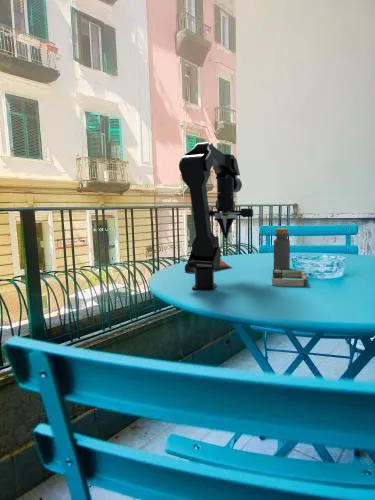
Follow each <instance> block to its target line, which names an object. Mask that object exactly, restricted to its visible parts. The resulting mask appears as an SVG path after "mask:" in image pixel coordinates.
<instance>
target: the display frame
mask: <svg viewBox="0 0 375 500" xmlns="http://www.w3.org/2000/svg"><path fill="white" fill-rule="evenodd" d="M274 273H281V270H274ZM307 282H308V281H307V277H306V274H305V271H304V270H282V279H273V278H272V277H271V285H272V286H276V287H281V286H282V287H307V286H308V285H307Z"/></svg>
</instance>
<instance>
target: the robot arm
mask: <svg viewBox="0 0 375 500" xmlns="http://www.w3.org/2000/svg"><path fill="white" fill-rule="evenodd" d="M178 168H179V170H178V171H180V175H181V179H182V181H183V182H184V183H185V184H186V186H187V187H188V189H189V195H190V203H191V204H190V205H191V209H192V216H193V217H192V218H193V223H194V225H193V226H194V231H195V237H194V240H193V241H192V244H191V250H190V254H189V256H188V259H187V263H188V268H195V274H194V285H193V286H192V287H191V289H192V290H199V291H200V290H204V291H205V290H206V291H208V290H209V291H212V290H214V289H215V288H216V287H217V283H215V282H214V281H215V280H214V279H215V274H214V273H215V271H214V269H216V268H218V267H220V259H221V256H222V255H221V254H222V249H221V246H220V240H219V236H218V235H216V234H214V233H213V231H212V223H211V217H214V219H213V220H214V221H217V223H218V225H219V227H220V229H221V232H222V235H223V237H224V239H227V238H229V237H228V236H229V234H230V231H231V227H232V224H233V222H234V221H237V219H238V216H241V217H242V218H253V217H254V209H253V208H251V207H250V208H248V207H247V208H246V207H245V208H244V207H243V208H241V209H239V210H236V203H235V200H234V199H235V194H236V193H238V192H240V191H241V189H242V188H243V183H242V180H241V178H239V177H238V176H240V175H241V174H240V169H239V163H238V160H237V158H236V157H235V155H234V154H230V153H223V151H221V150H220V149H218V148H216V147H215V146H214V144H213V143H212V142H208V141H207V142H198V143H196V144H194V146H193V148H192V149H190V150H188V151H187V152H185V153H184V154H183V156H182V157H181V158H180V161H179V164H178ZM211 169H212V170H213V171H214V173H215V175H216V176H215V180H216V200H215V210H212V208H209V206H210V205H209V199H208V192H207V183H209V179H210V177H211ZM198 261H202V262H198ZM187 263H186V264H187Z"/></svg>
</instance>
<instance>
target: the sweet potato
mask: <svg viewBox="0 0 375 500" xmlns="http://www.w3.org/2000/svg"><path fill="white" fill-rule="evenodd" d="M198 262H202V261H198ZM228 268H229V269H232V268H233V267H232V266H230V265H229V264H227V263H226V262H225V261H223V260H222V259H221V258H220V267H218V268H216V269H214V272H217V270H218V271H221V270H222V271H223V270H228ZM184 272H186V273H189V274H194V275H195V268H188V263H186V264H185V266H184Z"/></svg>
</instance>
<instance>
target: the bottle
mask: <svg viewBox="0 0 375 500" xmlns="http://www.w3.org/2000/svg"><path fill="white" fill-rule="evenodd" d="M274 230H275V233H274V237H275V239H274V240H273V269H282V270H284V271H287V270H290V268H291V267H290V266H291V265H290V263H291V262H290V260H291V259H290V258H291V249H290V247H291V241H290V239H288V237H289V236H290V234H289V232H288V231H289V228H288V227H287V228H286V227H280V228H279V227H277V228H275V229H274Z"/></svg>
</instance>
